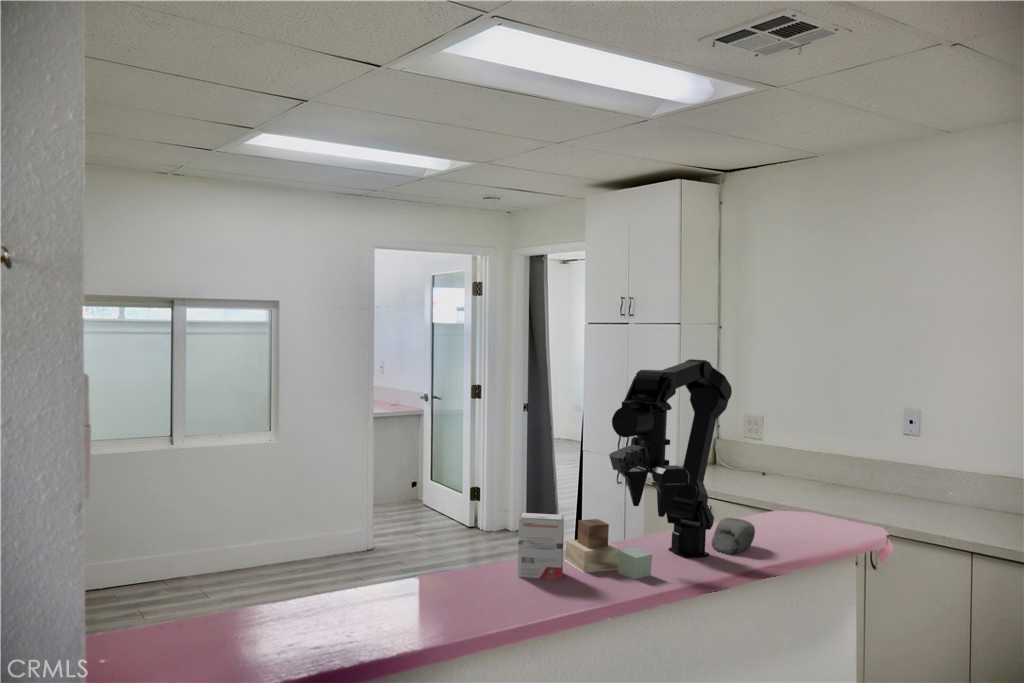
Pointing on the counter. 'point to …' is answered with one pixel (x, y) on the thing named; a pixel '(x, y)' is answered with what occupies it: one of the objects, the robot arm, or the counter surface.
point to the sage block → (634, 563)
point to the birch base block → (592, 556)
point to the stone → (733, 535)
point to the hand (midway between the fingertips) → (648, 511)
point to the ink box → (540, 546)
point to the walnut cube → (593, 533)
